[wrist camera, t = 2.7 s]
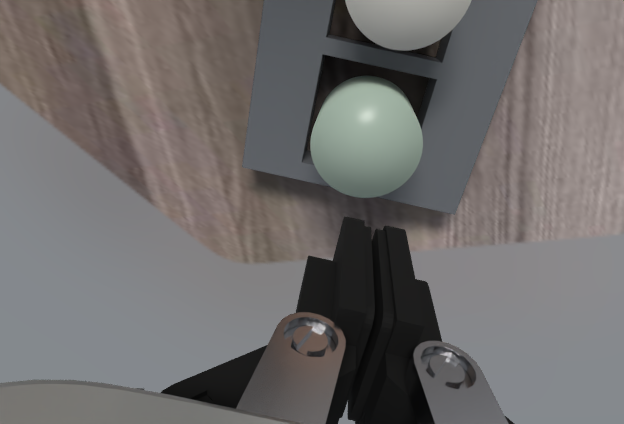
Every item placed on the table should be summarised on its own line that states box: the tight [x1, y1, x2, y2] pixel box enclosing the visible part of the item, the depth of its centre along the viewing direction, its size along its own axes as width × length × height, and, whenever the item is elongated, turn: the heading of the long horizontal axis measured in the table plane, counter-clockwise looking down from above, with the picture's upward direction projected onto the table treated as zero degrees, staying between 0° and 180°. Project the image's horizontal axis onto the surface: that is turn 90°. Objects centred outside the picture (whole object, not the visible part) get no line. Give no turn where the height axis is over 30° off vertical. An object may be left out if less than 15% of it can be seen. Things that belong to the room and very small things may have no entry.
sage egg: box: [310, 76, 423, 198], centre depth 24 cm, size 6×6×4 cm
